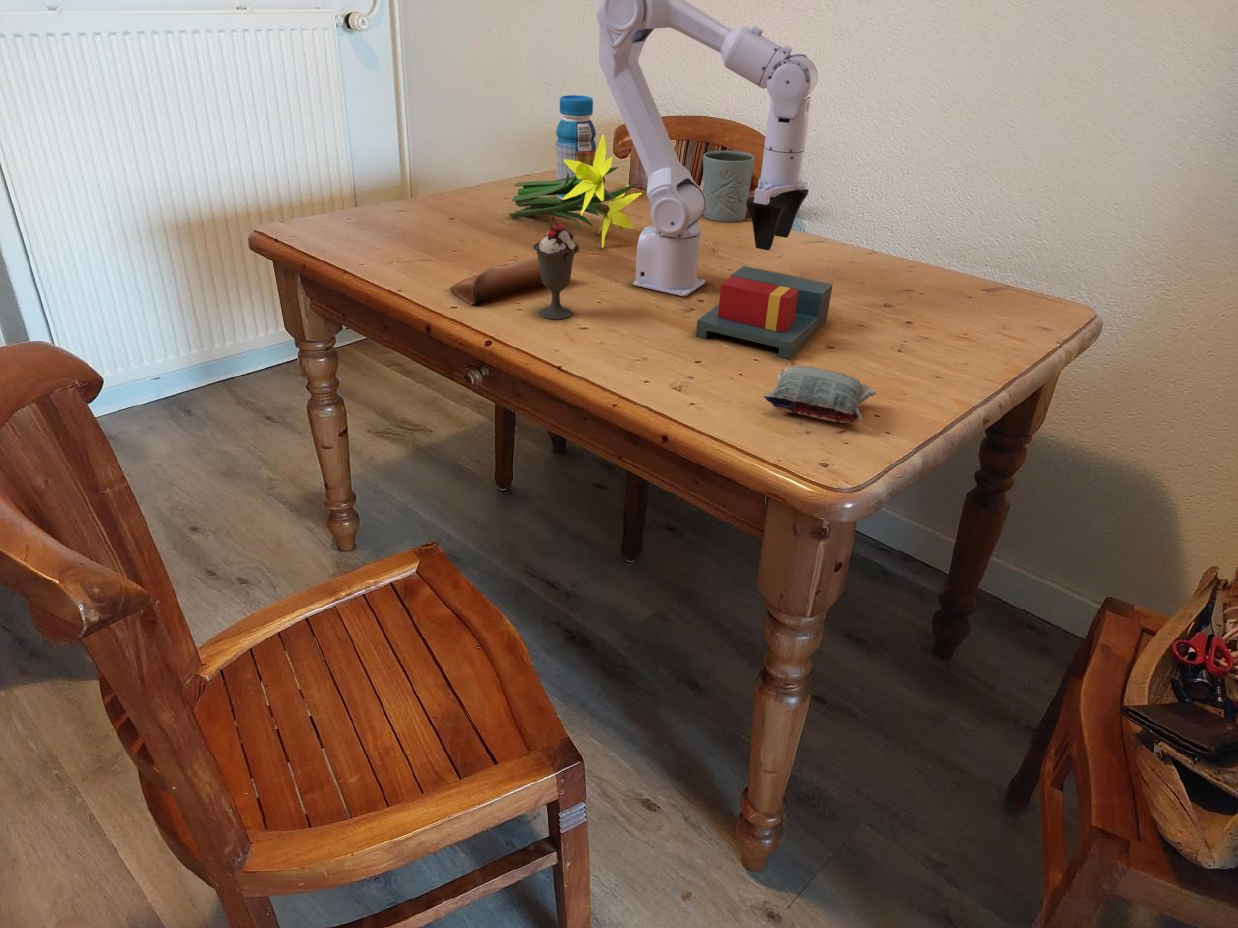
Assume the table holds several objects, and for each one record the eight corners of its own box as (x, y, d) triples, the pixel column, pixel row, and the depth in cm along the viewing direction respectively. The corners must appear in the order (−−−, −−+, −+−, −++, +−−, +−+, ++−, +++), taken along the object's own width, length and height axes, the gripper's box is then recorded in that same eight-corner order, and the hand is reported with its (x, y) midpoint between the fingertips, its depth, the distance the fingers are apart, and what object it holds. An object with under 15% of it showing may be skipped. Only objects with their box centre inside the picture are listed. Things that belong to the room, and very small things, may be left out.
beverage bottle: (551, 201, 183) (551, 99, 173) (560, 191, 190) (560, 93, 180) (590, 204, 182) (592, 102, 172) (598, 194, 189) (600, 95, 179)
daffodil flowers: (566, 210, 181) (681, 201, 154) (523, 259, 176) (634, 258, 150) (518, 142, 171) (632, 120, 144) (471, 192, 166) (579, 178, 140)
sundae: (544, 325, 125) (543, 221, 117) (526, 309, 130) (524, 208, 123) (585, 318, 128) (587, 216, 120) (566, 303, 133) (567, 204, 125)
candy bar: (717, 317, 123) (720, 283, 121) (728, 309, 126) (732, 275, 124) (784, 333, 119) (789, 298, 117) (794, 324, 122) (799, 289, 120)
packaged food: (779, 385, 111) (784, 350, 108) (873, 406, 107) (881, 369, 104) (760, 415, 104) (765, 377, 101) (859, 438, 100) (867, 400, 97)
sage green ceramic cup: (750, 224, 174) (757, 162, 167) (699, 222, 174) (705, 159, 167) (745, 210, 182) (751, 151, 176) (696, 208, 182) (701, 149, 176)
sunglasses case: (538, 266, 145) (550, 237, 140) (561, 297, 144) (574, 269, 138) (445, 288, 135) (455, 258, 130) (468, 322, 133) (479, 293, 128)
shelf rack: (695, 336, 124) (699, 296, 121) (739, 303, 136) (743, 265, 133) (789, 359, 118) (795, 318, 115) (826, 322, 130) (832, 284, 127)
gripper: (793, 161, 118) (780, 259, 125) (827, 144, 129) (813, 235, 136) (744, 154, 121) (734, 250, 128) (782, 138, 131) (770, 227, 138)
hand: (772, 242), depth 132 cm, fingers open, 7 cm apart
